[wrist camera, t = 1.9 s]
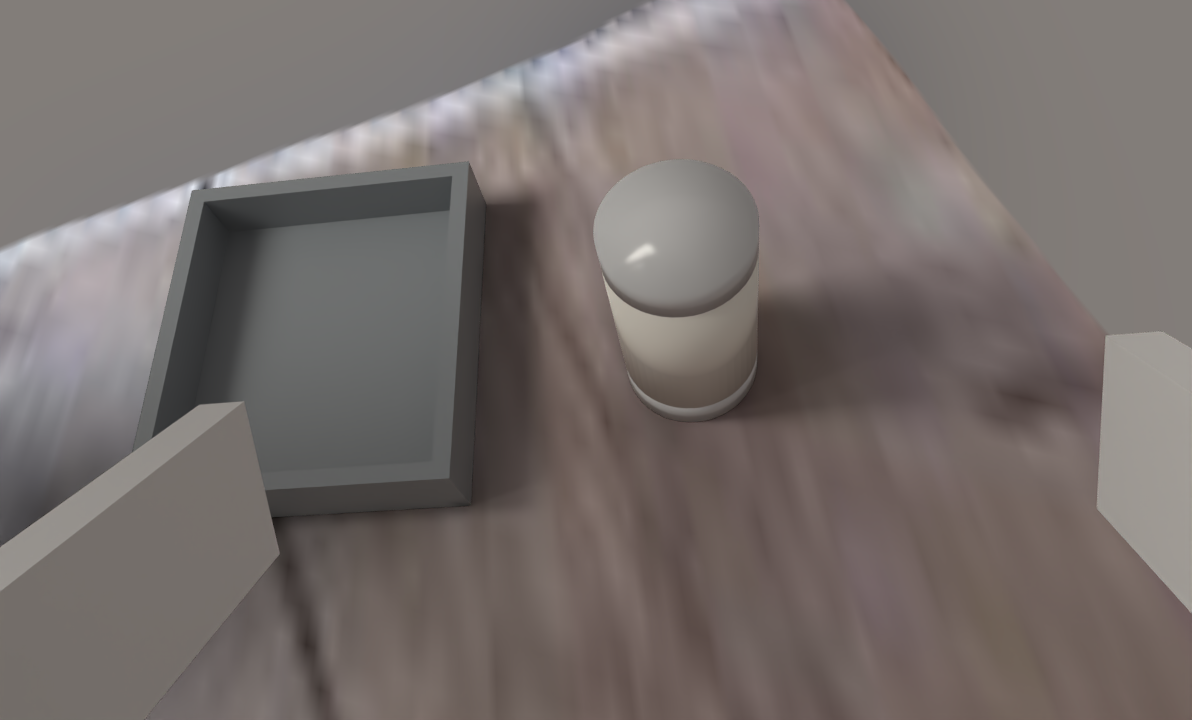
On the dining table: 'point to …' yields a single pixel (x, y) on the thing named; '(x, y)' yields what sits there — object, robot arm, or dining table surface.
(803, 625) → the dining table surface
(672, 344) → the grey lidded jar
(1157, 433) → the robot arm
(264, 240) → the parts tray
